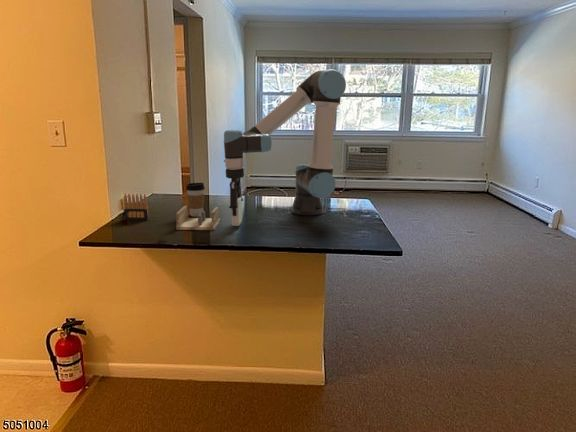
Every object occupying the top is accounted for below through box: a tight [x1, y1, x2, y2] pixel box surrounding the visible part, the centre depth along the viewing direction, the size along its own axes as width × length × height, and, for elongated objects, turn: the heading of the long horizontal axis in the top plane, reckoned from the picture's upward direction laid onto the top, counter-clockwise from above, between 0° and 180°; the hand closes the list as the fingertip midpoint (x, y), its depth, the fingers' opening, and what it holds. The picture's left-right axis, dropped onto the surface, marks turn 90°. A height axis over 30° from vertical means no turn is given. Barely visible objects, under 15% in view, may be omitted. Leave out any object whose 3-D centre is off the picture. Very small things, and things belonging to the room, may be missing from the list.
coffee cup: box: [185, 182, 206, 217], centre depth 205 cm, size 8×8×15 cm
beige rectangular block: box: [231, 197, 243, 227], centre depth 189 cm, size 3×10×10 cm, turn 178°
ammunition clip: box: [123, 193, 150, 221], centre depth 198 cm, size 11×2×12 cm, turn 88°
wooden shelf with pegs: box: [175, 205, 221, 231], centre depth 190 cm, size 16×14×7 cm
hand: (237, 219), depth 190 cm, fingers closed on beige rectangular block, 10 cm apart
